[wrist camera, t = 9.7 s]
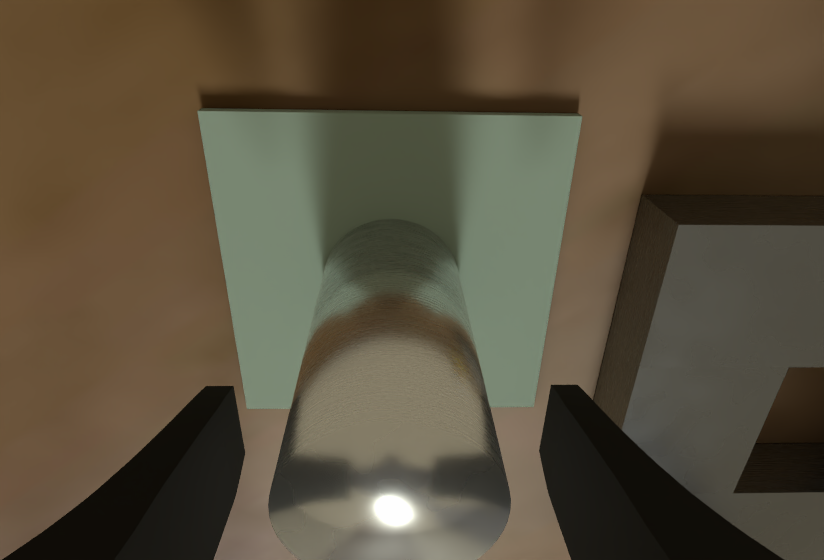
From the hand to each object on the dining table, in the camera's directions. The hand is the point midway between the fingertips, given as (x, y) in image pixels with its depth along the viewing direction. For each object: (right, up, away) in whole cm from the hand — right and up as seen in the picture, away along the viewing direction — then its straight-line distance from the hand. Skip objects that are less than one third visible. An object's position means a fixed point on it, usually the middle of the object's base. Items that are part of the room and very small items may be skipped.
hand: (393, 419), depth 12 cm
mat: (0, +3, +6) cm, 7 cm away
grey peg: (0, +3, +6) cm, 6 cm away
